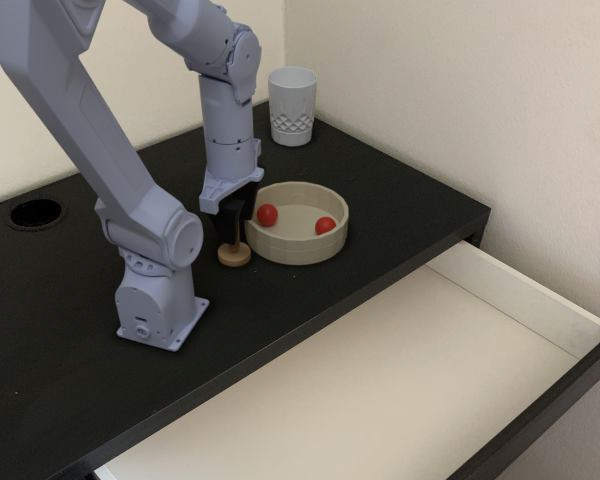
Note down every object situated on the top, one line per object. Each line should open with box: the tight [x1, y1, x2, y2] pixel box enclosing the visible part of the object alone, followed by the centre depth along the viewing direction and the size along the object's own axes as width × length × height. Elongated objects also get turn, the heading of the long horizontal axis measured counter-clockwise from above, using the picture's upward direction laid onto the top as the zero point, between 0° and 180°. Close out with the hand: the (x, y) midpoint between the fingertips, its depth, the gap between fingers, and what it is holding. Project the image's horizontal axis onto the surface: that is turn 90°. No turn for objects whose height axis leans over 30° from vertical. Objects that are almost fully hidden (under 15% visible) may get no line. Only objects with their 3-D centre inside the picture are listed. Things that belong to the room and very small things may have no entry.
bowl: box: [244, 181, 350, 266], centre depth 92 cm, size 14×14×4 cm
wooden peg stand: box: [217, 222, 252, 268], centre depth 87 cm, size 4×4×8 cm
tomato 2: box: [315, 217, 336, 235], centre depth 91 cm, size 3×3×3 cm
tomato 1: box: [257, 204, 278, 226], centre depth 93 cm, size 3×3×3 cm
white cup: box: [267, 65, 319, 147], centre depth 108 cm, size 8×8×10 cm
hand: (236, 230), depth 87 cm, fingers open, 5 cm apart
